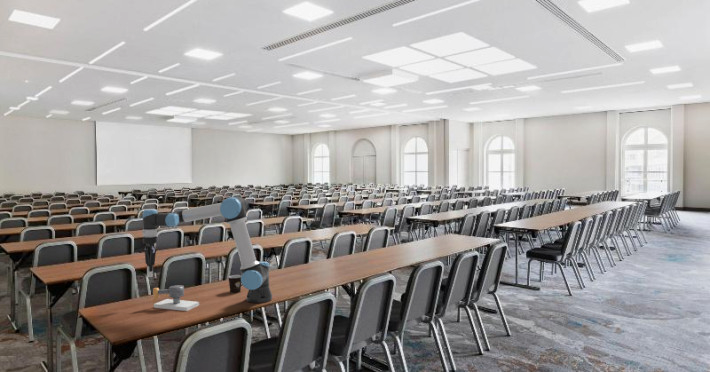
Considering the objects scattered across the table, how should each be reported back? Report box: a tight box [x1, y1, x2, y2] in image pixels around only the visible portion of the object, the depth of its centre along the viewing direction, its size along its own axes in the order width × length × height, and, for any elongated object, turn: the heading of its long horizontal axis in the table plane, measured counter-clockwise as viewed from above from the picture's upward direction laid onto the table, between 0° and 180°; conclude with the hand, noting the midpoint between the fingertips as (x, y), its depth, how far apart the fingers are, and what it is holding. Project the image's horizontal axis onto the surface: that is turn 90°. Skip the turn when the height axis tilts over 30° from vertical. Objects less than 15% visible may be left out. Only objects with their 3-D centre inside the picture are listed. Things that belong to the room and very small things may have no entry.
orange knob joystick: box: [152, 284, 185, 301], centre depth 251 cm, size 16×8×6 cm, turn 102°
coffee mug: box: [228, 274, 243, 294], centre depth 284 cm, size 12×9×10 cm
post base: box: [153, 297, 200, 312], centre depth 252 cm, size 22×11×6 cm, turn 74°
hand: (150, 276), depth 254 cm, fingers closed
